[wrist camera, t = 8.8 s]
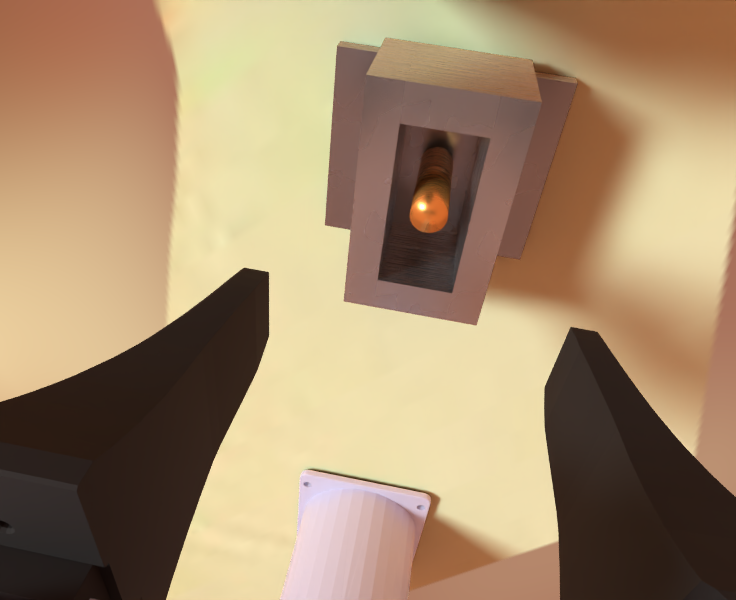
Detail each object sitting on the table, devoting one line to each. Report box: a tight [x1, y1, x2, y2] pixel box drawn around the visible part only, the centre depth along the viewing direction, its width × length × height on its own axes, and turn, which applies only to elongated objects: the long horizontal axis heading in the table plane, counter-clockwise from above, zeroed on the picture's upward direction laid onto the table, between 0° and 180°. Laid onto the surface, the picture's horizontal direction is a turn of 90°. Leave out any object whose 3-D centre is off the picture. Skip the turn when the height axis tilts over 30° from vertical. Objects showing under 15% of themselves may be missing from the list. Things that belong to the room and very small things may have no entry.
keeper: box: [325, 41, 578, 259], centre depth 20 cm, size 7×8×5 cm
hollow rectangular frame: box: [344, 38, 542, 325], centre depth 20 cm, size 8×5×4 cm, turn 174°
